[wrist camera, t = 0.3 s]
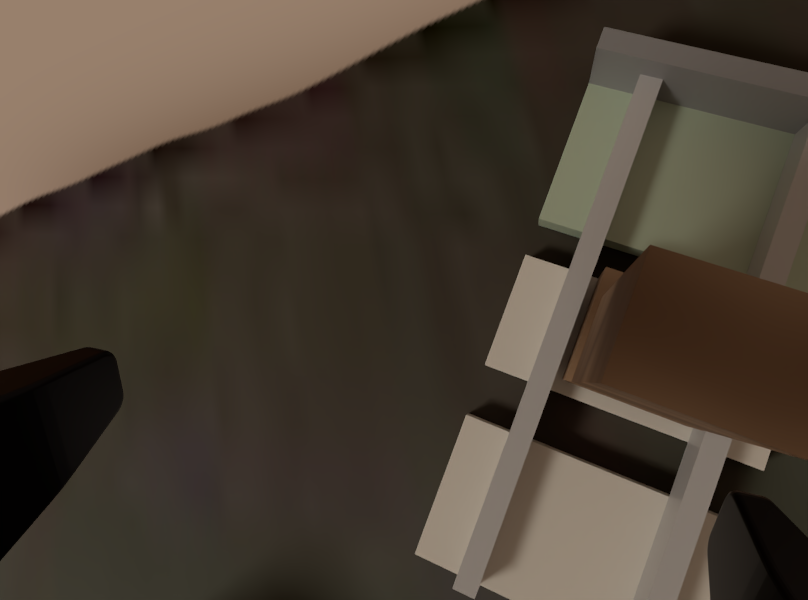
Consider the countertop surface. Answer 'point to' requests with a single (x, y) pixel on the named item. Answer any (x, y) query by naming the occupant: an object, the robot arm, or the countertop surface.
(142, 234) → the countertop surface
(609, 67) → the track
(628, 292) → the slider
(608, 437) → the countertop surface
